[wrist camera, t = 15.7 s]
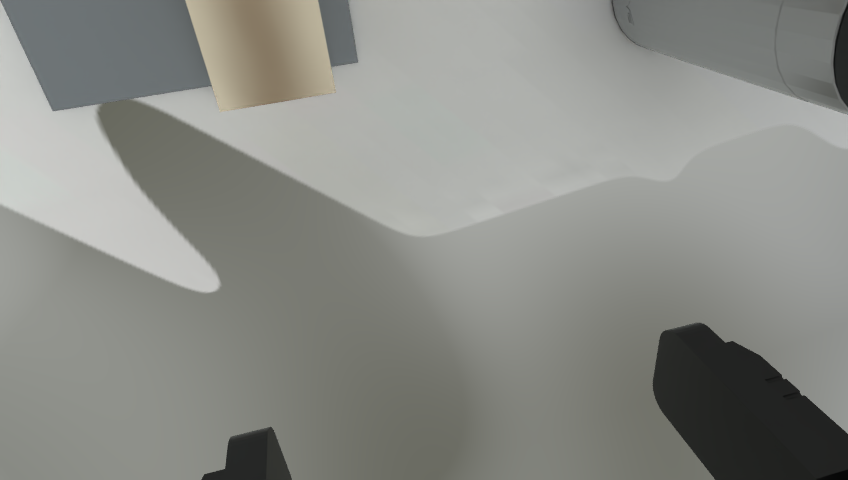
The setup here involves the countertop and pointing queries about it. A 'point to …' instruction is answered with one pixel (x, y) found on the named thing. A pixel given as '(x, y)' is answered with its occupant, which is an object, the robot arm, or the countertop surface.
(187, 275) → the countertop surface
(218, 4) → the beech block
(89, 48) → the grey mat
